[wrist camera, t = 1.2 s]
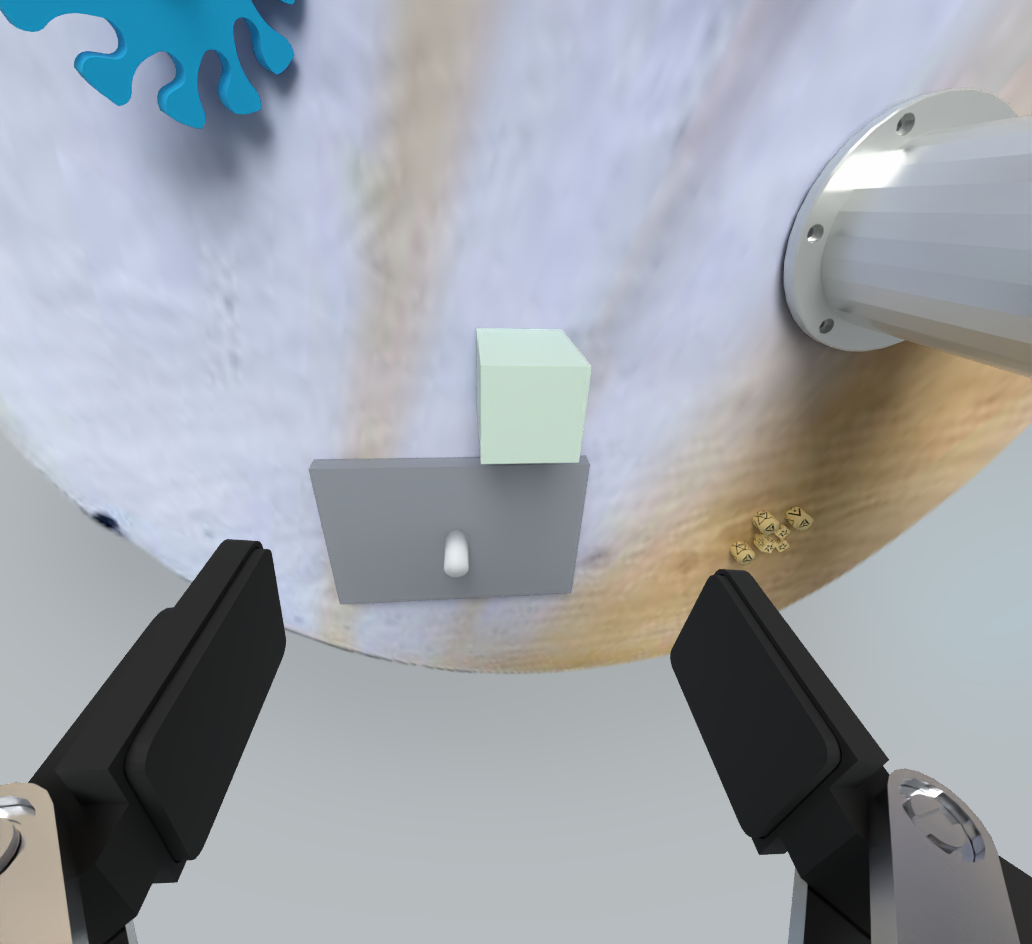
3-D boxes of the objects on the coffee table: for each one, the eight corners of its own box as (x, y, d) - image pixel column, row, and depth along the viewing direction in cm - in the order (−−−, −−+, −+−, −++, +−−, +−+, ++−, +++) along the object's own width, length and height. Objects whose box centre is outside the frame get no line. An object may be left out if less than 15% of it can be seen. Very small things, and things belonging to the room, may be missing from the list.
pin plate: (585, 455, 31) (602, 488, 27) (567, 582, 37) (579, 622, 33) (314, 459, 29) (293, 496, 25) (343, 592, 35) (330, 637, 31)
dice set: (723, 549, 38) (735, 565, 36) (745, 500, 35) (759, 514, 33) (776, 550, 38) (791, 566, 37) (802, 502, 36) (819, 516, 34)
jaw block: (561, 329, 26) (591, 366, 20) (554, 408, 28) (579, 462, 23) (476, 327, 25) (480, 365, 19) (476, 408, 28) (480, 464, 22)
